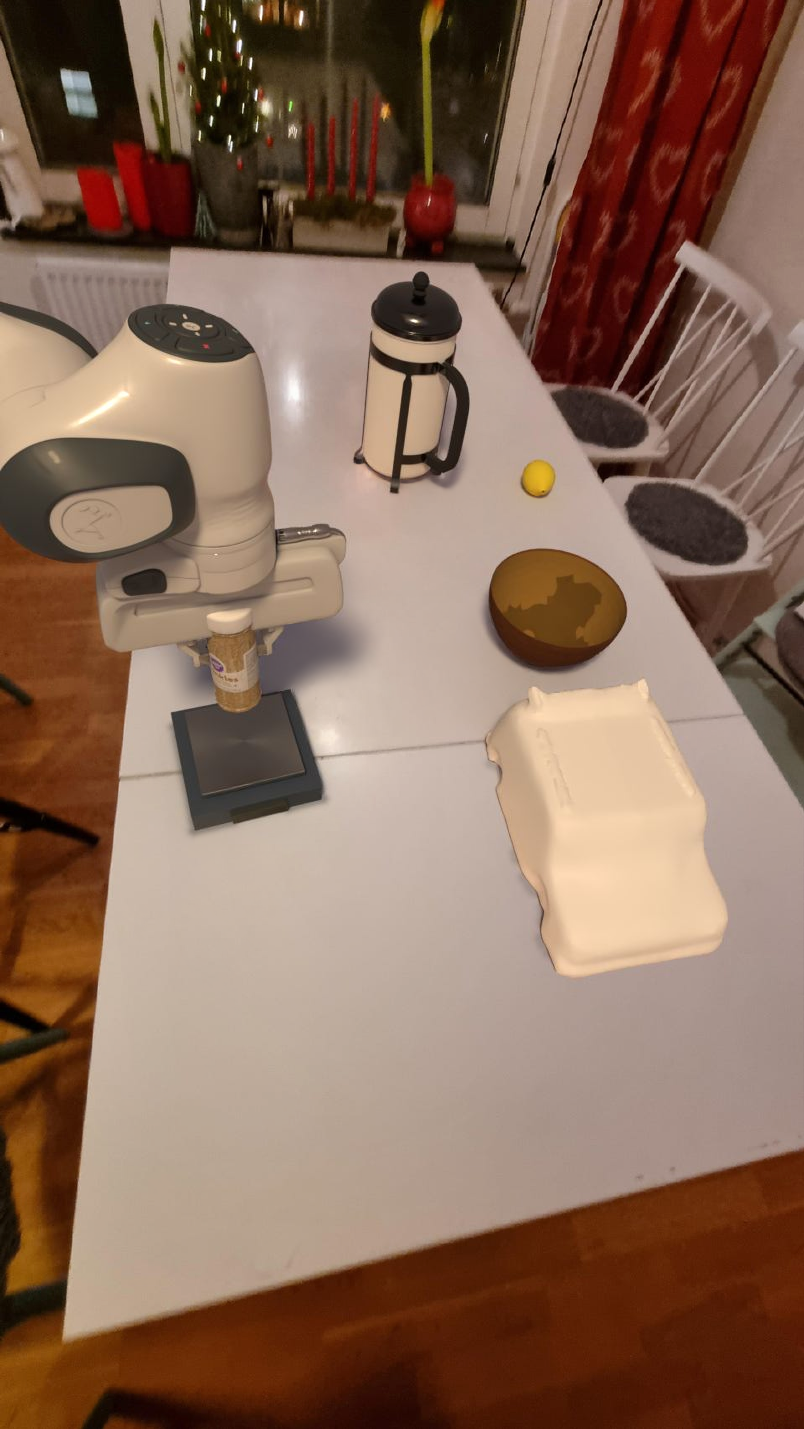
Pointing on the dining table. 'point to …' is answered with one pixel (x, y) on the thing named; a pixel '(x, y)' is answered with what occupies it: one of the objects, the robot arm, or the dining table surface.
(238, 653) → the sprinkles bottle
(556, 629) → the bowl
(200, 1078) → the dining table surface
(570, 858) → the egg carton
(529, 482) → the lemon
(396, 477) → the coffee press
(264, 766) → the scale pan
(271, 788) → the scale
